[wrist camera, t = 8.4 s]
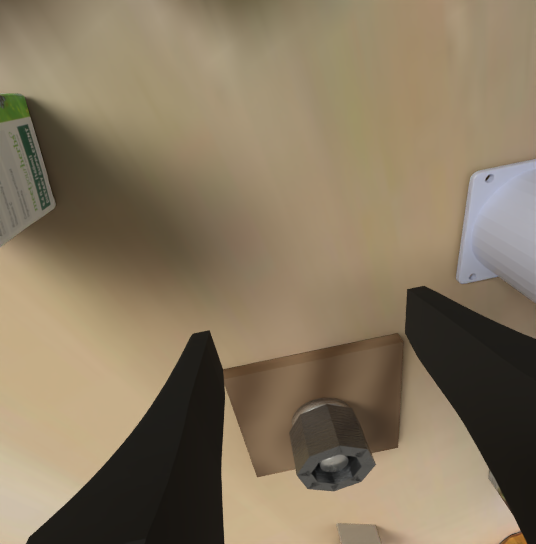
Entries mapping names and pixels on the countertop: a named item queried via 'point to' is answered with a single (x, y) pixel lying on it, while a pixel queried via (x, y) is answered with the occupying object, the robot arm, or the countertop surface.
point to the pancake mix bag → (515, 539)
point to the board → (317, 396)
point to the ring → (330, 447)
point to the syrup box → (20, 170)
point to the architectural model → (358, 534)
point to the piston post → (335, 461)
